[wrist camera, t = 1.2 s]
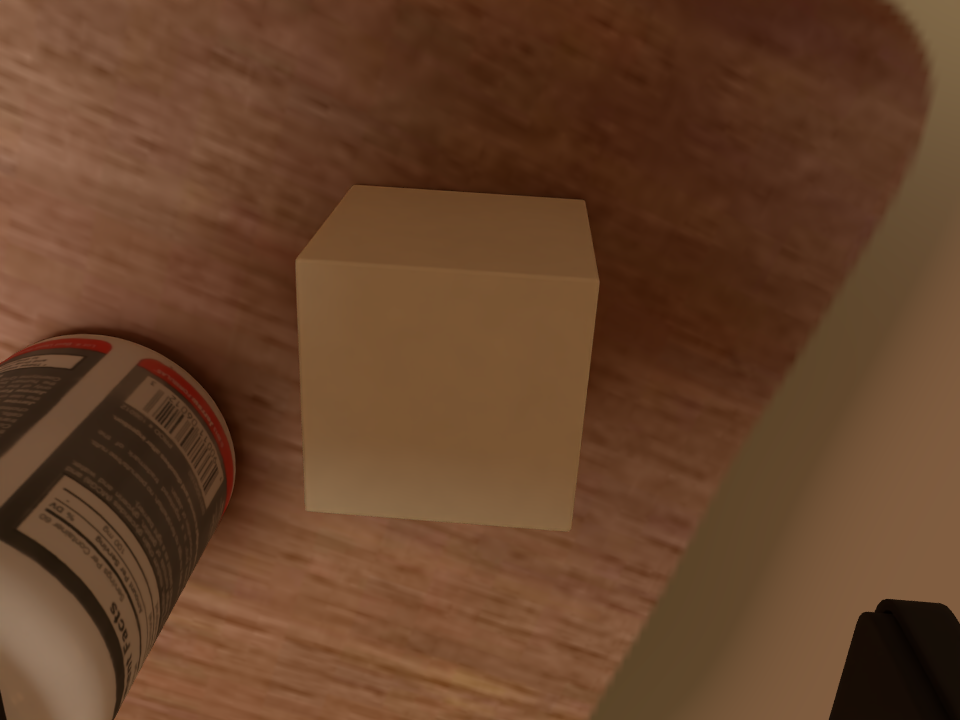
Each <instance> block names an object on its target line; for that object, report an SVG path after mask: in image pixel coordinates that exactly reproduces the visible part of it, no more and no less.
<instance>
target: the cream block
mask: <svg viewBox="0 0 960 720" xmlns="http://www.w3.org/2000/svg"><path fill="white" fill-rule="evenodd" d="M295 272H296V297H297V322H298V347H299V372H300V397H301V422H302V448H303V473H304V498H305V509H306V511H310V512H322V513H335V514H348V515H361V516H374V517H386V518H399V519H412V520H425V521H438V522H450V523H463V524H476V525H489V526H502V527H514V528H527V529H540V530H553V531H566V532H568V531H570V529H571V527H572V518H573V510H574V501H575V492H576V484H577V475H578V466H579V458H580V449H581V440H582V432H583V423H584V414H585V406H586V397H587V388H588V380H589V371H590V362H591V354H592V345H593V337H594V328H595V319H596V311H597V302H598V293H599V285H600V281H599V276H598V270H597V264H596V259H595V253H594V248H593V242H592V236H591V231H590V225H589V220H588V214H587V208H586V203H585V201H584V200H578V199H563V198H548V197H533V196H518V195H503V194H487V193H472V192H457V191H442V190H427V189H412V188H396V187H381V186H366V185H353V186H352V187H351V188H350V189H349V191H348V192H347V193H346V195H345V196H344V197H343V199H342V200H341V201H340V202H339V204H338V205H337V206H336V208H335V209H334V210H333V212H332V213H331V214H330V215H329V217H328V218H327V219H326V221H325V222H324V223H323V225H322V226H321V227H320V228H319V230H318V231H317V232H316V234H315V235H314V236H313V238H312V239H311V240H310V241H309V243H308V244H307V245H306V247H305V248H304V249H303V251H302V252H301V253H300V254H299V256H298V257H297V258H296V261H295Z"/></svg>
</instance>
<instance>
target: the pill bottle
mask: <svg viewBox="0 0 960 720" xmlns="http://www.w3.org/2000/svg"><path fill="white" fill-rule="evenodd" d="M235 472H236V460H235V452H234V447H233V442H232V439H231V435H230V432H229V429H228V427H227V424H226V422H225V420H224V418H223V416H222V414H221V412H220V410H219V409H218V407H217V405H216V404H215V402H214V401H213V399H212V398H211V397H210V395H209V394H208V393H207V391H206V390H205V389H204V388H203V387H202V386H201V385H200V384H199V383H198V382H197V381H196V380H195V379H194V378H193V377H192V376H191V375H190V374H189V373H187V372H186V371H185V370H184V369H183V368H181V367H180V366H178V365H177V364H176V363H174V362H172V361H171V360H169V359H168V358H166V357H165V356H163V355H161V354H159V353H157V352H155V351H153V350H151V349H149V348H147V347H144V346H142V345H140V344H137V343H134V342H131V341H128V340H124V339H120V338H116V337H111V336H104V335H95V334H74V335H64V336H58V337H53V338H49V339H46V340H42V341H40V342H37V343H34V344H32V345H29V346H27V347H25V348H24V349H22V350H20V351H18V352H16V353H15V354H13V355H12V356H11V357H9V358H8V359H6V360H5V361H3V362H1V363H0V692H1V696H2V700H3V705H4V709H5V714H6V718H7V720H114V718H115V716H116V715H117V713H118V711H119V709H120V707H121V705H122V703H123V701H124V699H125V697H126V695H127V693H128V692H129V690H130V688H131V686H132V684H133V682H134V680H135V678H136V676H137V675H138V673H139V671H140V669H141V668H142V666H143V663H144V661H145V659H146V658H147V656H148V654H149V652H150V650H151V649H152V647H153V645H154V643H155V641H156V639H157V637H158V635H159V634H160V632H161V630H162V628H163V626H164V624H165V622H166V620H167V619H168V617H169V615H170V613H171V611H172V609H173V607H174V605H175V604H176V602H177V600H178V598H179V596H180V594H181V592H182V591H183V589H184V587H185V585H186V583H187V581H188V579H189V577H190V576H191V574H192V572H193V570H194V568H195V566H196V564H197V563H198V561H199V559H200V557H201V555H202V554H203V552H204V550H205V548H206V546H207V544H208V542H209V540H210V539H211V537H212V535H213V533H214V532H215V530H216V528H217V526H218V524H219V522H220V520H221V518H222V516H223V514H224V512H225V510H226V508H227V506H228V503H229V501H230V498H231V495H232V491H233V488H234V482H235Z"/></svg>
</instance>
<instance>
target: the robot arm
mask: <svg viewBox="0 0 960 720" xmlns="http://www.w3.org/2000/svg"><path fill="white" fill-rule="evenodd" d="M0 720H7V718H6V714H5V709H4V705H3V700H2V696H1V692H0ZM829 720H960V624H959V622H958V620H957V619H956V617H955V616H954V614H953V613H952V611H951V610H950V609H949V608H948V607H947V606H945V605H943V604H941V603H930V602H918V601H905V600H893V599H885V600H882V601H881V602H880V603H879V604H878V606H877V608H876V610H875V612H864V613H862V614H861V615H860V616H859V619H858V621H857V624H856V628H855V631H854V634H853V638H852V641H851V645H850V648H849V651H848V655H847V659H846V662H845V666H844V669H843V673H842V676H841V679H840V683H839V686H838V690H837V693H836V697H835V700H834V704H833V707H832V710H831V714H830V717H829Z"/></svg>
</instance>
